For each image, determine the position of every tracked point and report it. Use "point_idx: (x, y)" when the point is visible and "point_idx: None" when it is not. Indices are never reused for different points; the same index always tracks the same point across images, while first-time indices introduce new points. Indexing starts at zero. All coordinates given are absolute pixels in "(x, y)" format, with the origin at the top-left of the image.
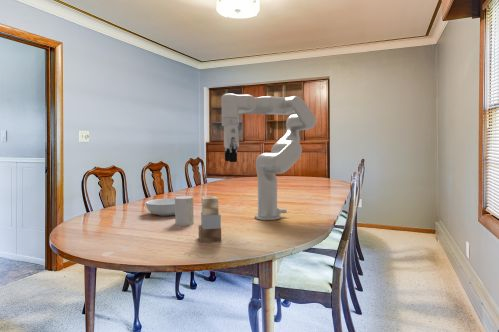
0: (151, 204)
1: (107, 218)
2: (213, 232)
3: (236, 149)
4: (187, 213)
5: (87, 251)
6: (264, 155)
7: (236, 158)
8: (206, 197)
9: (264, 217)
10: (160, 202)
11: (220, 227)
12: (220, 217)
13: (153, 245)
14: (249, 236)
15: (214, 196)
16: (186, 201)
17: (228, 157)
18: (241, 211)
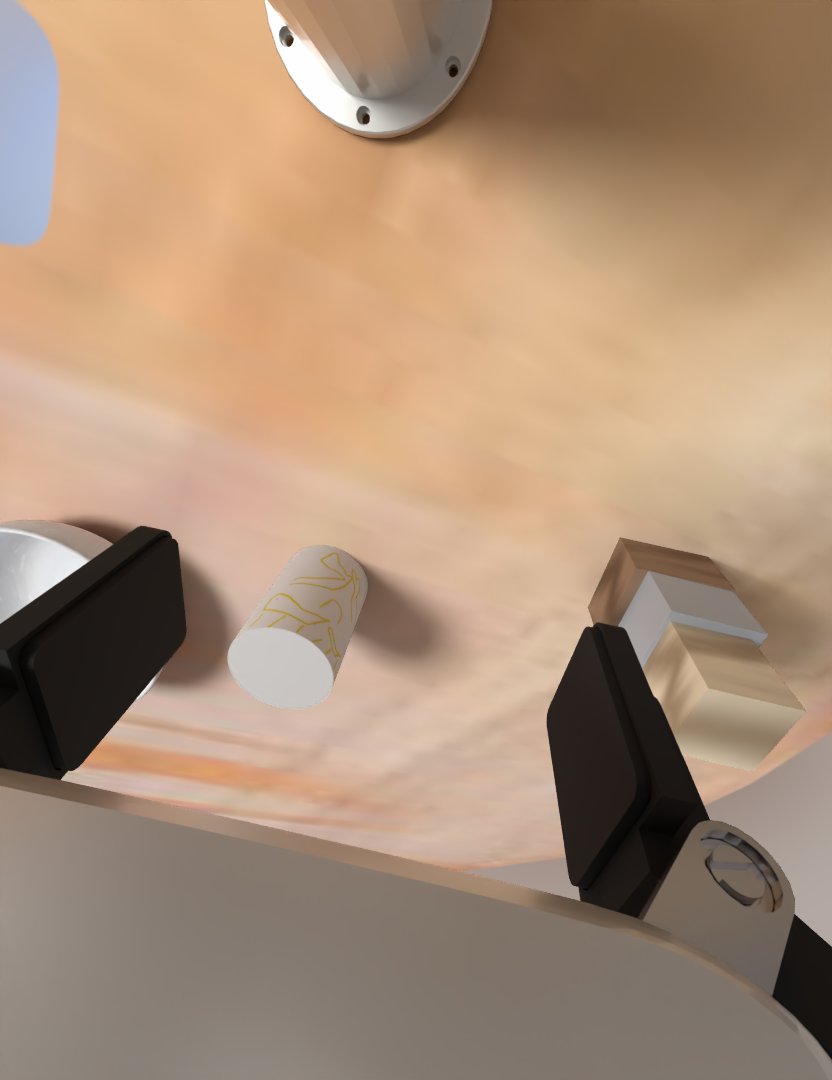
0: (135, 700)
1: (149, 760)
2: None
3: (781, 948)
4: (354, 615)
5: (531, 843)
6: None
7: (637, 679)
8: (708, 741)
9: (442, 70)
10: None
11: (733, 594)
12: (761, 626)
13: None
14: (741, 411)
15: (710, 698)
16: (337, 663)
17: (139, 632)
18: (83, 126)
